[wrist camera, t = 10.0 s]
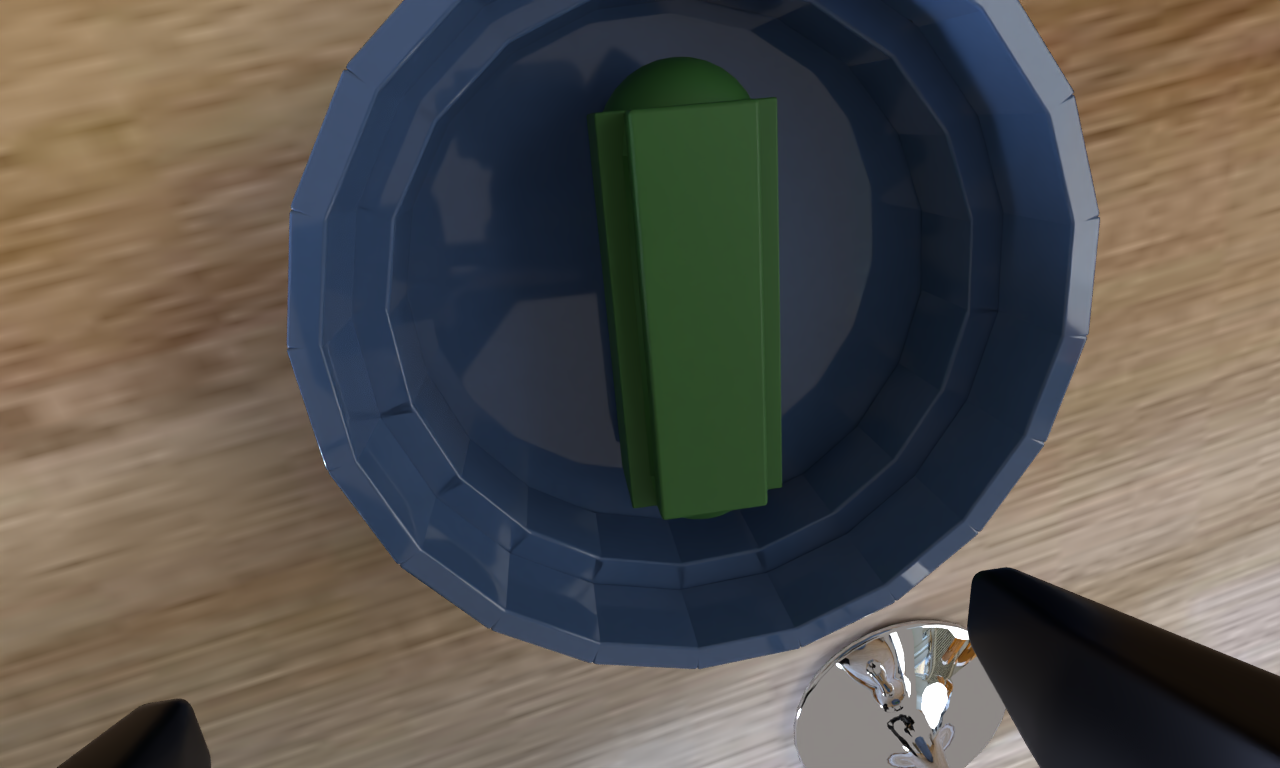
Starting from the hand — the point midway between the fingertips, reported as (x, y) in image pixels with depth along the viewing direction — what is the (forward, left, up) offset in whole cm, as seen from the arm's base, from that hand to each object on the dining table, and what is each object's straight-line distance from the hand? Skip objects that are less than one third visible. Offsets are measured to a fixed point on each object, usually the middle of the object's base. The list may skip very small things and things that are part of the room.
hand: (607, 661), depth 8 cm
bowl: (+2, -2, -11) cm, 11 cm away
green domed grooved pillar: (+2, -2, -10) cm, 11 cm away
